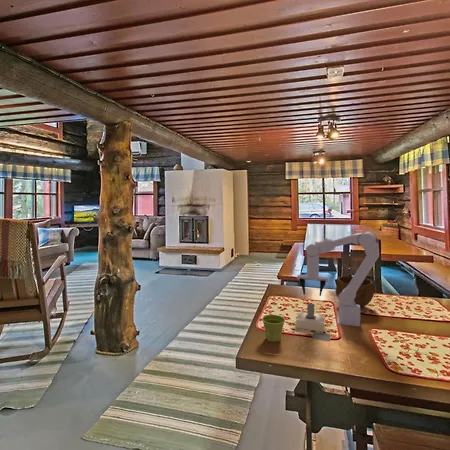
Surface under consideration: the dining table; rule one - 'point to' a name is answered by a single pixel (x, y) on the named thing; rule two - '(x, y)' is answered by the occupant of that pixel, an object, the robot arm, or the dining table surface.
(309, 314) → the steel pin
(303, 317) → the block
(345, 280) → the bowl
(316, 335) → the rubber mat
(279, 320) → the plant pot
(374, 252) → the robot arm
